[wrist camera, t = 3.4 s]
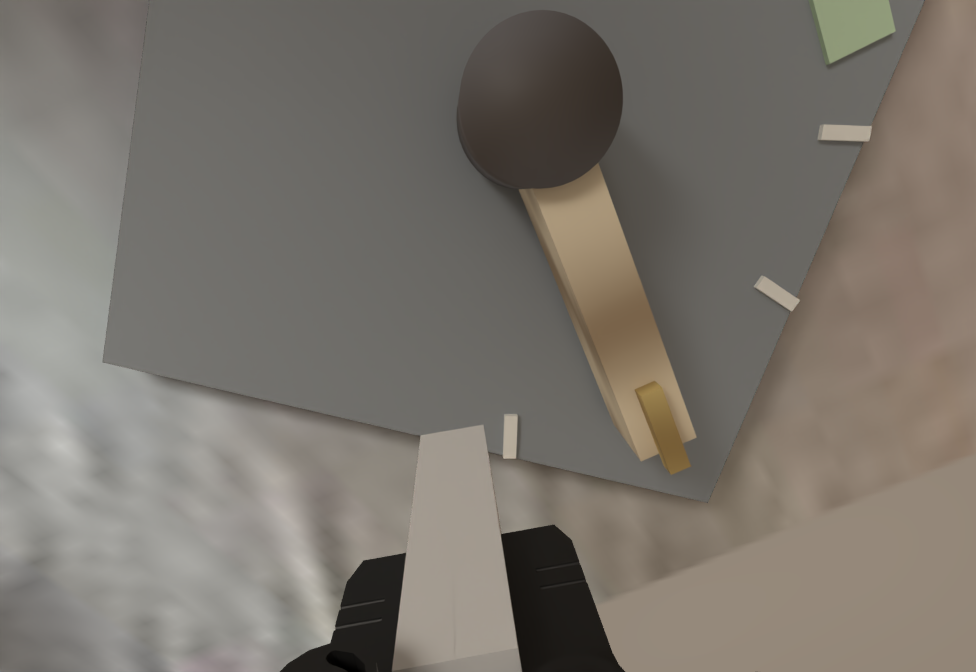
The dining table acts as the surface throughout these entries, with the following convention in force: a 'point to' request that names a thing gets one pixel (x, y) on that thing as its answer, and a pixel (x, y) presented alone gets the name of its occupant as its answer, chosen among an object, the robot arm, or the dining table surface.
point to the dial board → (479, 212)
